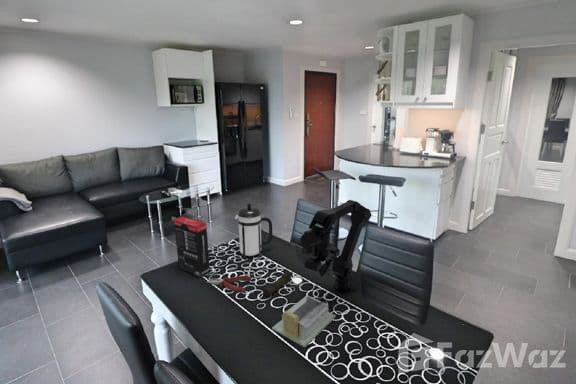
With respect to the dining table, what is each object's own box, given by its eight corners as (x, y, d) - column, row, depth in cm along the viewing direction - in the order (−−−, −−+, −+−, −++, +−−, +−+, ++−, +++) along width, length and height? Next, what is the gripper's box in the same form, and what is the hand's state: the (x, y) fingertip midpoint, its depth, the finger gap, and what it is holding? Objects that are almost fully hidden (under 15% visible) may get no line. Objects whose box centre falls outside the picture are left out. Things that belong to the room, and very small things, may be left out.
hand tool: (269, 298, 137) (269, 289, 136) (262, 295, 140) (262, 286, 139) (295, 280, 152) (295, 272, 151) (288, 277, 154) (288, 269, 153)
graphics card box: (211, 272, 159) (207, 221, 152) (200, 278, 153) (196, 226, 146) (188, 263, 168) (183, 215, 161) (177, 269, 162) (172, 219, 155)
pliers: (213, 276, 156) (212, 271, 155) (252, 280, 152) (252, 275, 151) (202, 289, 145) (202, 284, 144) (244, 294, 141) (244, 289, 141)
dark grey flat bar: (310, 299, 126) (310, 297, 126) (319, 303, 124) (319, 301, 124) (289, 317, 116) (289, 315, 116) (297, 321, 113) (297, 320, 113)
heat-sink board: (304, 302, 134) (305, 284, 132) (335, 317, 125) (336, 297, 123) (272, 329, 118) (271, 308, 116) (304, 347, 109) (305, 325, 107)
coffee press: (254, 263, 168) (252, 209, 160) (231, 255, 176) (229, 204, 169) (273, 251, 182) (272, 201, 174) (251, 244, 190) (250, 197, 183)
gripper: (318, 230, 140) (318, 262, 144) (293, 244, 126) (293, 279, 130) (341, 236, 133) (339, 269, 137) (316, 251, 119) (315, 288, 123)
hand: (322, 276), depth 132 cm, fingers closed
